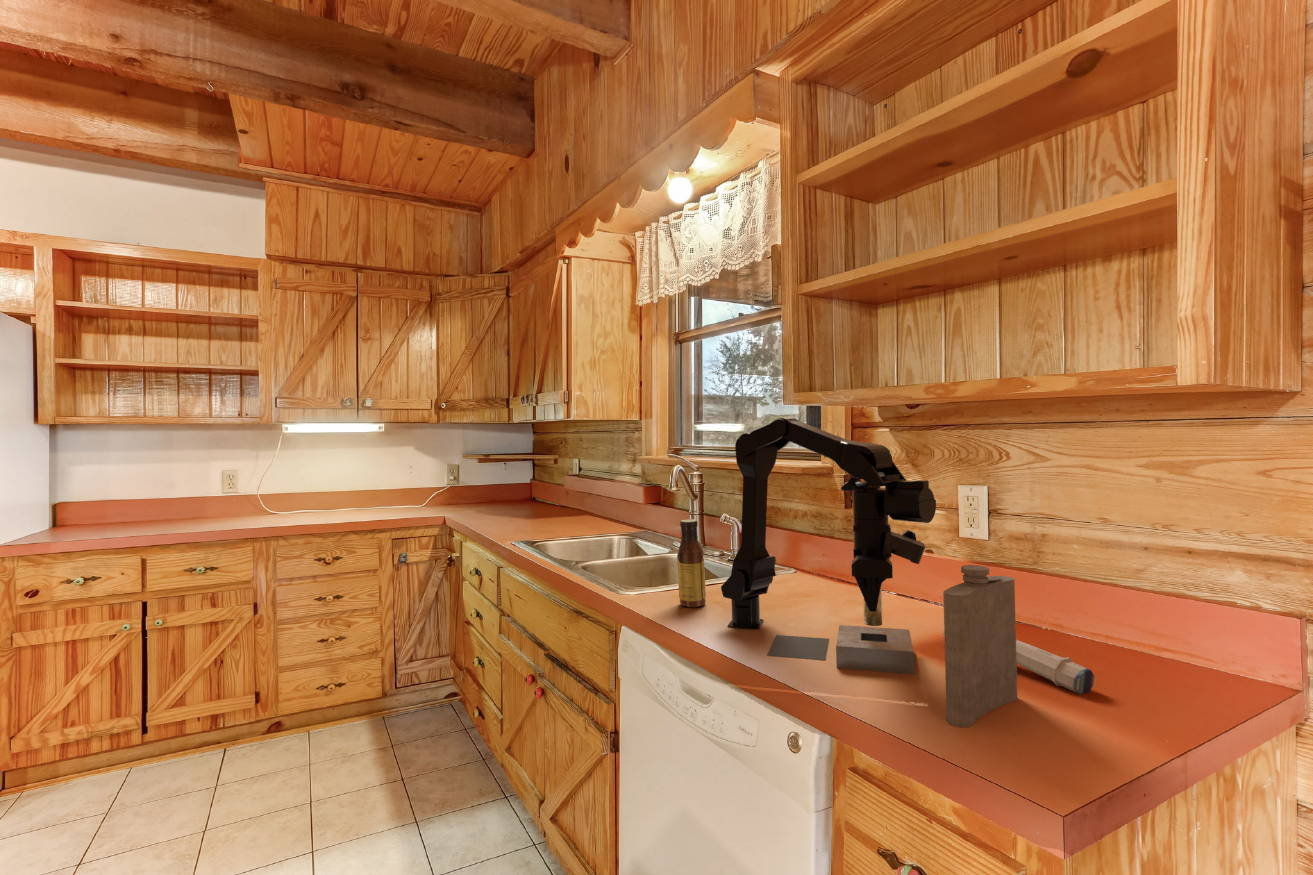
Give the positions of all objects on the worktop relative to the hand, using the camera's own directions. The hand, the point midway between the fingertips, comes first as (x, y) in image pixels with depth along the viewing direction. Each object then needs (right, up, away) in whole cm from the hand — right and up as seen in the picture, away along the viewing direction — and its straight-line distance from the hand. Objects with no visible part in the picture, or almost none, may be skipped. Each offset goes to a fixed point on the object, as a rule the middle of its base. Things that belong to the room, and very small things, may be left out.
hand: (872, 608), depth 110 cm
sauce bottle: (-29, -10, +39) cm, 50 cm away
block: (0, -9, 0) cm, 9 cm away
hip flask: (+9, -9, -20) cm, 23 cm away
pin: (0, -3, 0) cm, 3 cm away
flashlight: (+21, -9, -4) cm, 24 cm away
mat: (-11, -9, +7) cm, 16 cm away
